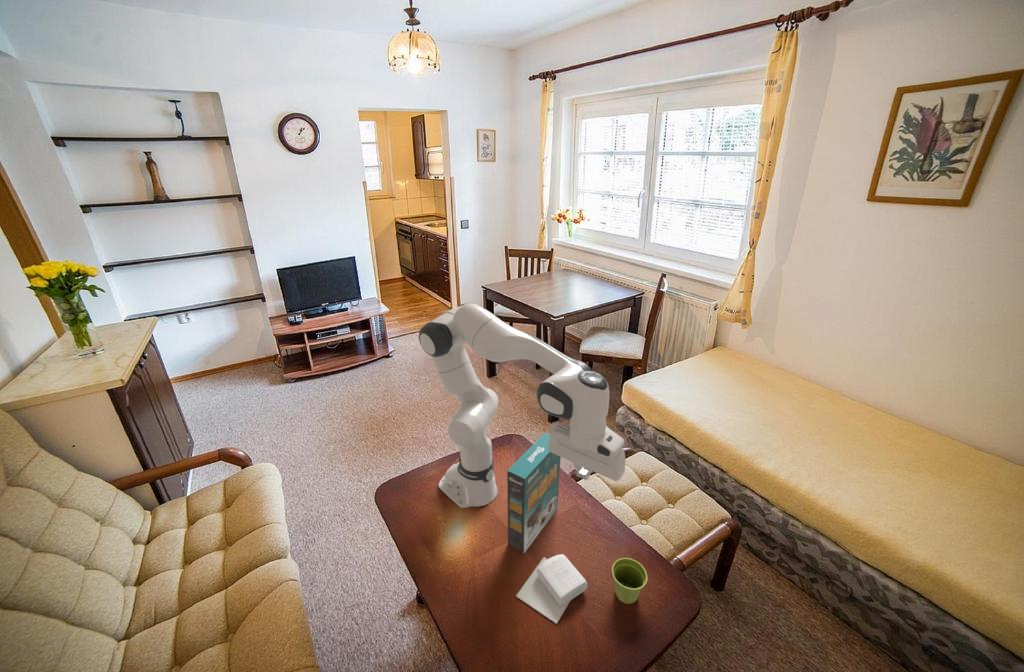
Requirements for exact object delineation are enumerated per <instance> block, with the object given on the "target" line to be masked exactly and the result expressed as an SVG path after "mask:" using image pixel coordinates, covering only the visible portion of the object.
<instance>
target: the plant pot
mask: <svg viewBox="0 0 1024 672" xmlns="http://www.w3.org/2000/svg"><path fill="white" fill-rule="evenodd" d="M611 572H612V573H611V574H612V576H613V580H614V592H615V595H616V597H617V599H618V600H619V601H620V602H621V603H623V604H626V605H631V604H634V603H635V602H636V601H637V599H638V597H639V595H640V593H641V590H642V589H643V588H644V587H645V586H646V584H647V583H648V574H647V570H646V569H645V567H644V566H643V564H641V563H640V562H639V561H637V560H635V559H632V558H629V557H628V558H627V557H622V558H618V559H617V560H616V561H615V562H614V563H613V564H612V568H611Z"/></svg>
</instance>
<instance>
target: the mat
mask: <svg viewBox="0 0 1024 672" xmlns="http://www.w3.org/2000/svg"><path fill="white" fill-rule="evenodd" d="M547 559H548V558H546V557H543V558H542V559H541V560H540V562H539V563H538V565H537V566H536V567H535V568H534V570H533V571H532V573H531V574H530V575H529V577H528V578H527V580H526V581H525V583H524V584H523V586H522V587H521V589H520V590H519V591H518V592H517V593H516V595H515V597H516V598H518V599H520V600H521V601H522V602H523V603H525V604H526V605H528V606H529V607H531V608H532V609H534V610H536V611H537V612H538V613H539V614H541V615H542V616H544V617H546V618H547V619H549V620H550V621H552V623H554V624H555V625H557V624H558V622H559V621H560V620H561V618H562V617H563V614H564V612H565V610H566V608H567V607H568V606H569V604H570V603H571V600H570V601H569V602H567V603H566V604H564V605H562V606H559V605H558V603H557V602H556V601H555V599H554V598H553V596H552V595H551V594H550V592H549V591H548V590H547V588H546V587H545V586H544V584H543V583H542V581H541V580H540V578H539V577H538V574H537V569H538V567H539V566H540V565H541V564H542V563H543V562H545V561H546V560H547Z"/></svg>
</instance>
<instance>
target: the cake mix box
mask: <svg viewBox="0 0 1024 672" xmlns="http://www.w3.org/2000/svg"><path fill="white" fill-rule="evenodd" d="M550 435H551V433H548V432H545V431H544V433H543V434H542V435H541V436H540V437H539V438H538V439H537V440H536V441H535V442H534V443H533V444H532V445H531V446H530V447H529V448H528V449H527V450H526V451H525V452H524V453H523V454H522V455H521V456H520V457H519V458H518V459H517V460H516V461H515V462H514V463H513V465H511V466H510V467H509V468H508V469H507V472H506V475H507V477H506V478H507V479H506V480H507V545H508V546H509V547H510V548H511V547H512V548H513V549H514V550H516V551H518V552H520V553H521V554H523V555H524V554H525V553H526V552H527V550H528V549H529V548H530V546H531V545H532V543H534V541H535V539H536V538H537V537H538V536H539V534H540V533H541V531H543V529H544V528H545V527H546V525H547V524H548V522H549V521H550V520H551V518H552V517H553V515H555V513H556V511H557V510H558V508H559V507H558V505H559V490H560V488H559V487H560V474H561V473H560V472H561V457H560V456H558V455H556V454H553V453H551V452H550V451H549V449H548V444H549V439H550Z"/></svg>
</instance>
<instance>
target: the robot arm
mask: <svg viewBox="0 0 1024 672" xmlns="http://www.w3.org/2000/svg"><path fill="white" fill-rule="evenodd" d="M418 340H419V344H420V347H421V348H422V350H423V351H424V352H425V353H426V354H427V355H428V356H431V357H432V361H433V364H434V366H435V369H436V372H437V374H438V376H439V378H440V381H441V384H442V385H443V388H444V391H445V392H446V393H447V394H449V395H452V396H456V398H457V399H458V400H459V402H460V406H459V408H458V409H457V411H456V412H455V413H454V415H453V416H452V418H451V420H450V421H449V424H448V427H447V434H448V437H449V439H450V440H451V442H453V443H454V444H455V445H457V446H458V447H459V450H460V452H459V453H460V456H459V458H457V459H456V460H455V463H453V464H452V465H451V466H449V468H448V469H447V470H446V471H445V474H444V475H443V476H442V478H441V479H440V480H439V482H438V488H439V489H440V490H441V492H443V493H444V495H446V496H448V498H449V499H450V500H452V502H454V503H455V504H456V505H457V506H458V507H459V508H460V509H467V508H470V507H475V508H477V507H483V506H485V505H488V504H490V503H491V502H493V501H494V500H495V498H497V494H498V487H497V484H496V477H495V473H494V467H495V466H494V458H493V445H492V440H491V439H490V438H489V437H488V436H487V434H486V433H487V429H488V426H489V425H490V422H491V421H492V419H493V418H494V416H495V415H496V413H497V410H498V407H499V403H500V402H499V397H498V395H497V393H496V392H495V391H494V390H492V389H491V388H488V387H486V386H484V385H483V383H482V382H481V381H480V379H479V377H478V376H477V374H476V371H475V368H474V367H473V364H472V362H471V360H470V357H469V355H468V352H467V351H466V347H465V344H468V346H469V347H470V348H472V349H473V350H474V351H475V352H476V353H477V354H478V355H480V357H482V358H484V359H486V360H487V361H490V362H494V363H501V362H503V363H504V362H508V361H515V360H528V361H532V362H534V363H536V364H537V365H539V366H540V367H542V368H544V369H545V370H547V372H550V373H551V374H552V375H550V376H549V377H548V378H547V379H544V381H542V382H541V383H540V384H539V385H537V388H536V399H537V403H538V405H539V407H540V408H541V409H542V411H543V412H545V413H546V414H547V415H550V416H552V417H556V418H559V419H562V420H569V425H568V424H565V423H562V422H560V421H553V422H551V423H550V426H549V427H550V428H549V432H550V434H551V435H550V439H549V444H548V449H549V451H550V452H551V453H553V454H556V455H558V456H560V458H563V459H565V460H567V461H569V462H572V463H573V464H572V465H573V467H574V469H575V471H576V477H578V478H581V479H583V480H585V481H588V480H589V478H590V476H591V474H592V472H594V473H596V474H598V475H601V476H603V477H605V478H607V479H609V480H612V481H614V482H617V481H620V480H621V479H622V477H623V475H624V474H625V471H626V453H625V450H624V449H623V447H624V445H625V440H624V438H623V437H622V436H620V435H619V434H617V433H616V432H615V431H613V430H612V429H610V428H609V426H608V425H607V419H606V418H607V416H608V412H609V408H610V407H609V405H610V387H609V383H608V382H607V379H606V377H604V376H603V375H602V374H600V373H598V372H596V371H593V369H592V368H591V367H590V366H589V365H588V364H586V363H585V362H583V361H581V360H577V359H575V358H572V357H569V356H568V355H566V354H564V353H563V352H561V351H559V350H558V349H556V348H554V347H553V346H551V345H549V344H548V343H546V342H545V341H543V340H541V339H540V338H538V337H537V336H534V335H533V334H530V333H528V332H526V331H521V330H519V329H516V328H515V327H514V326H511V325H509V324H507V323H506V322H504V321H503V320H501V319H500V318H499V317H498V316H497V315H495V314H494V313H492V312H491V311H489V310H488V309H486V308H484V307H482V306H480V305H478V304H477V303H474V302H466V303H462V304H460V305H459V306H457V307H454V308H451V309H449V310H446V311H445V312H443V313H442V314H441V315H439V316H438V317H436V318H435V319H433V320H431V321H428V322H427V323H426V324H424V325H423V326H422V327H421V328H420V329H419V332H418ZM582 467H583V468H582ZM584 468H585V469H584Z"/></svg>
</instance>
